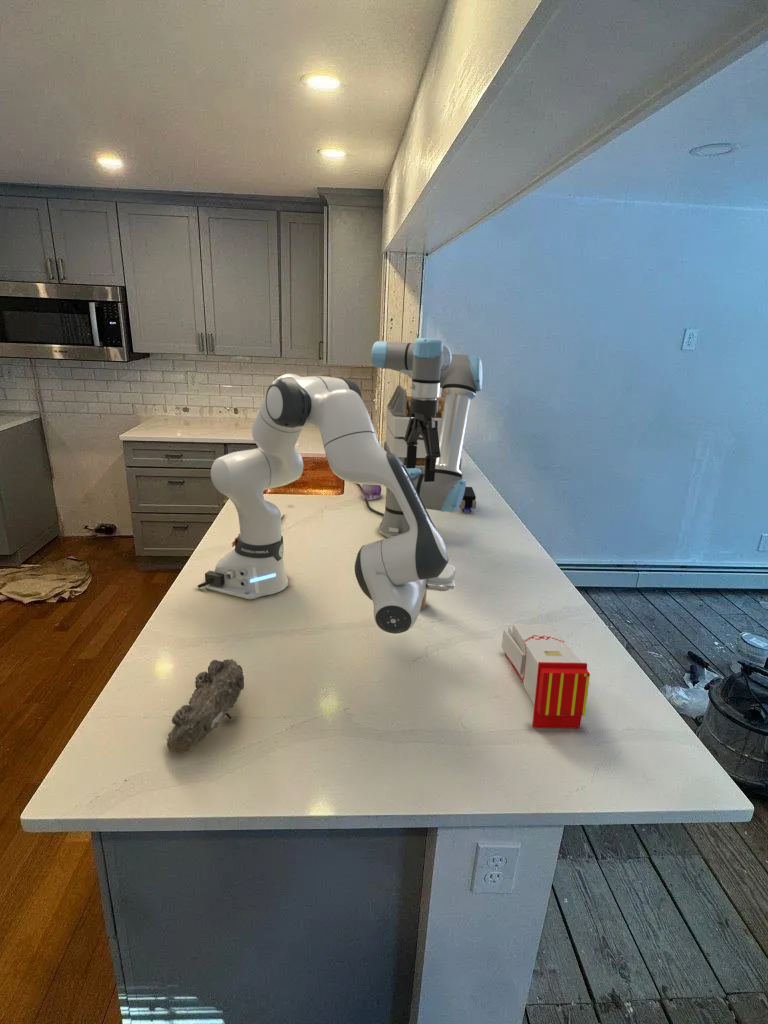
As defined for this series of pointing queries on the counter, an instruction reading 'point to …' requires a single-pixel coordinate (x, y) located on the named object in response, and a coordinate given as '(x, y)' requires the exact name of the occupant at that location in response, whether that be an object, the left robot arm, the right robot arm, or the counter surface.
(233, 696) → the fossil
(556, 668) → the toy
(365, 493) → the figurine
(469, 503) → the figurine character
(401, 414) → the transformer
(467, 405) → the right robot arm
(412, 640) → the counter surface
